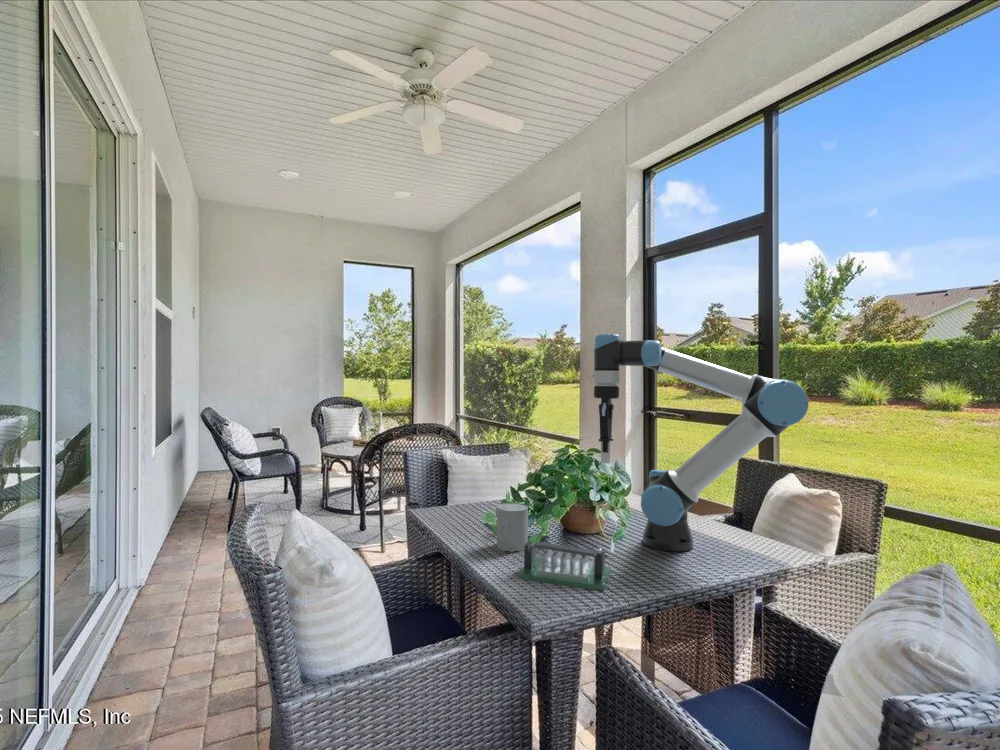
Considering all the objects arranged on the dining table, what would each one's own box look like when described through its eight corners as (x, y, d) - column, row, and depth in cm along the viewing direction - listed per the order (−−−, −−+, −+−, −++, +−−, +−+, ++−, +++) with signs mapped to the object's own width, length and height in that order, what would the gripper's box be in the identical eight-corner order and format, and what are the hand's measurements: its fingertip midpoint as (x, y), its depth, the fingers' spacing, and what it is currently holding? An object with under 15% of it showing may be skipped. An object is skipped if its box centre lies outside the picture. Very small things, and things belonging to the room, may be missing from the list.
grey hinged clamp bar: (602, 554, 136) (603, 547, 136) (600, 558, 133) (601, 551, 133) (536, 543, 142) (537, 537, 142) (533, 547, 139) (533, 540, 139)
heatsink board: (610, 571, 140) (610, 545, 140) (603, 591, 128) (604, 562, 128) (532, 561, 148) (532, 535, 148) (518, 578, 135) (518, 550, 135)
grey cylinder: (504, 539, 166) (505, 501, 166) (532, 544, 162) (532, 505, 162) (491, 548, 157) (491, 508, 157) (520, 554, 153) (520, 512, 153)
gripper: (597, 384, 165) (596, 458, 165) (590, 385, 153) (589, 465, 153) (621, 384, 163) (620, 460, 163) (616, 386, 150) (615, 467, 151)
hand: (605, 462), depth 158 cm, fingers closed
